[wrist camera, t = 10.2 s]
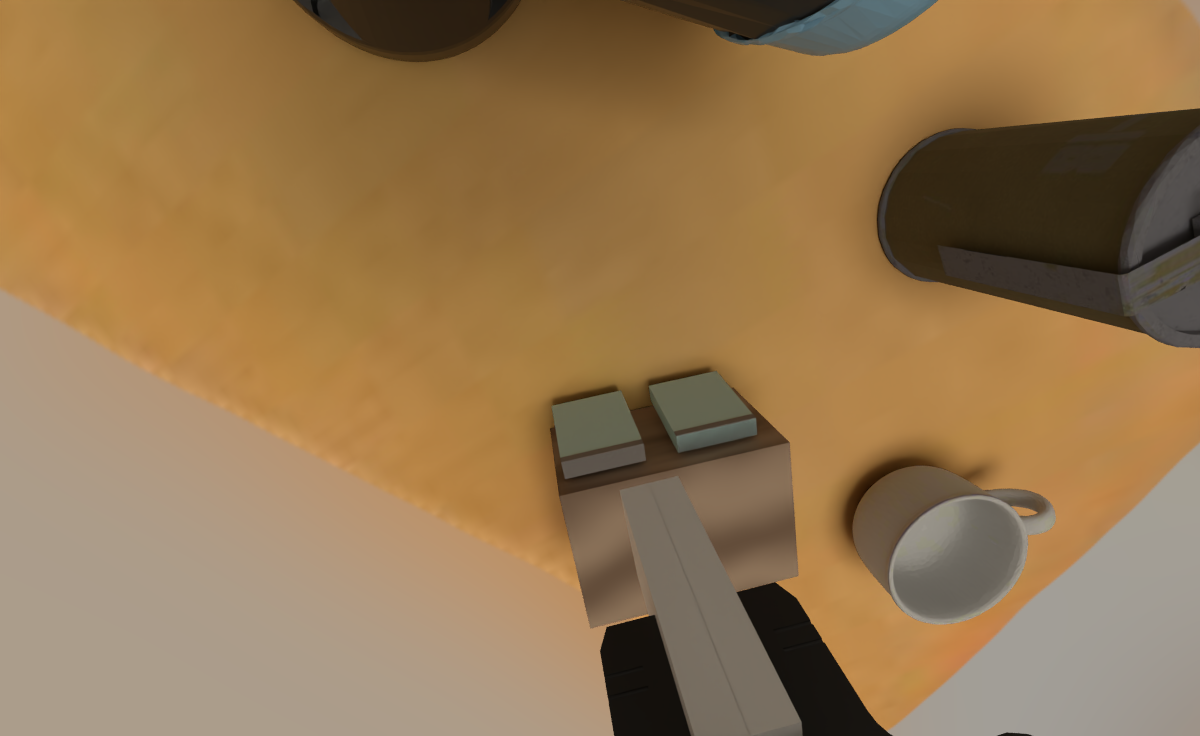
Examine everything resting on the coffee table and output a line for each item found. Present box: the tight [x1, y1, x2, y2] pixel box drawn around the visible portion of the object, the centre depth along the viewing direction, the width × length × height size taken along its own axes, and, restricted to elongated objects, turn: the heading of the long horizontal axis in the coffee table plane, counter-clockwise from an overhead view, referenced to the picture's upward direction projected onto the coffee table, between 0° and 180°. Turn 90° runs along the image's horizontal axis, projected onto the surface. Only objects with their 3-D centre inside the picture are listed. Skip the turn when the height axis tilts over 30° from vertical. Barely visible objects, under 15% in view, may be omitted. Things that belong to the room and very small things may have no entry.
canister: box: [878, 108, 1200, 348], centre depth 30 cm, size 11×10×20 cm
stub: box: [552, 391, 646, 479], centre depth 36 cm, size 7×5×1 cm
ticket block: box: [550, 388, 798, 628], centre depth 39 cm, size 10×14×9 cm
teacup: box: [853, 466, 1056, 624], centre depth 44 cm, size 14×11×8 cm
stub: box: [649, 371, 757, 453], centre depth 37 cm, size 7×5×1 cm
